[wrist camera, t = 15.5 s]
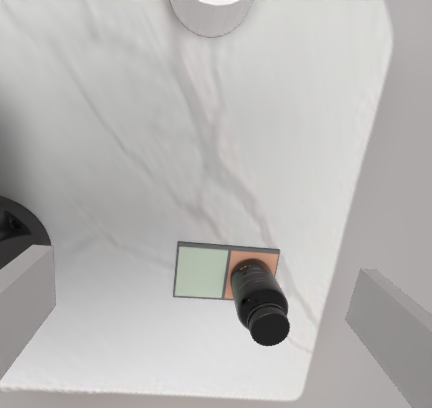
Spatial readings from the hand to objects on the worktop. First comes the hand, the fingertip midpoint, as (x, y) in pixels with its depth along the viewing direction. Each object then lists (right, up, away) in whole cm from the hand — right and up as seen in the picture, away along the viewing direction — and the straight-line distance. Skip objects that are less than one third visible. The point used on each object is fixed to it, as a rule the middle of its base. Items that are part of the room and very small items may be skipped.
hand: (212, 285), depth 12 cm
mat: (+2, -7, +33) cm, 33 cm away
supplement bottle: (+6, -8, +32) cm, 34 cm away
